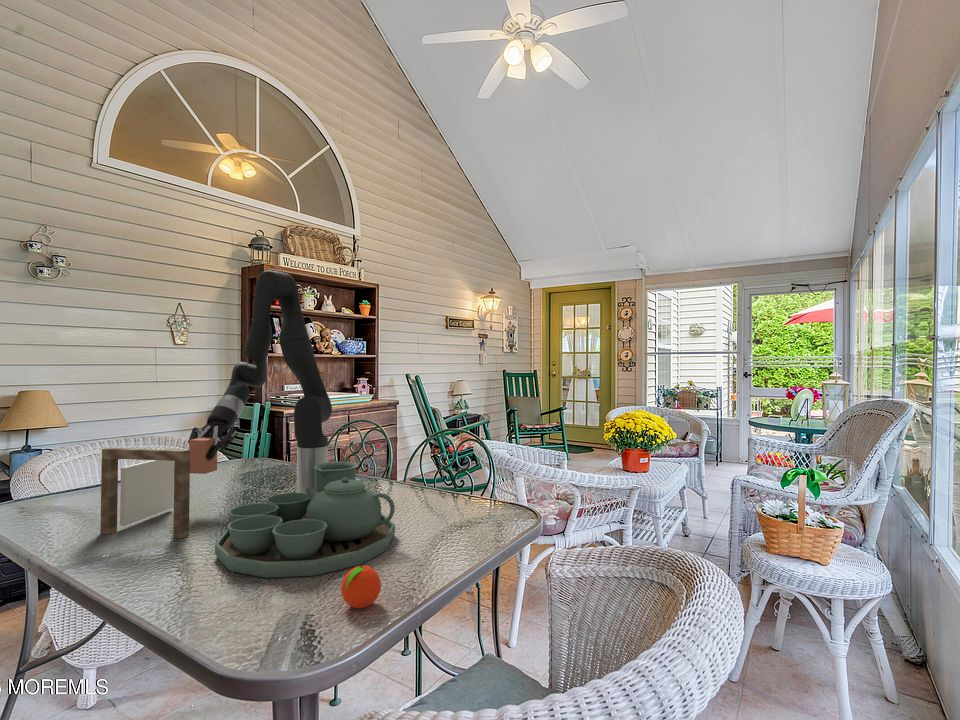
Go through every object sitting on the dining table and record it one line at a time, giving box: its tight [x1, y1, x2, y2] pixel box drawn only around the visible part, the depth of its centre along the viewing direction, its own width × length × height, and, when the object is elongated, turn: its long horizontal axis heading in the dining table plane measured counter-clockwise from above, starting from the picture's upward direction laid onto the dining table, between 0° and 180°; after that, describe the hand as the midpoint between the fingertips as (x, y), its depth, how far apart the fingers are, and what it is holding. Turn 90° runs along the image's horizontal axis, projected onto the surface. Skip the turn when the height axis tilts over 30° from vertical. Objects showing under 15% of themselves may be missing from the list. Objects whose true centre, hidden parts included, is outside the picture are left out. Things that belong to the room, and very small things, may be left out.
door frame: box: [99, 446, 191, 539], centre depth 125 cm, size 22×2×21 cm, turn 83°
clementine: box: [340, 565, 382, 609], centre depth 88 cm, size 8×7×7 cm
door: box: [119, 460, 174, 527], centre depth 137 cm, size 17×2×15 cm, turn 173°
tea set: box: [214, 461, 396, 579], centre depth 119 cm, size 40×40×16 cm
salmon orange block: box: [189, 437, 218, 475], centre depth 144 cm, size 5×5×10 cm
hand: (199, 458), depth 143 cm, fingers closed on salmon orange block, 5 cm apart
